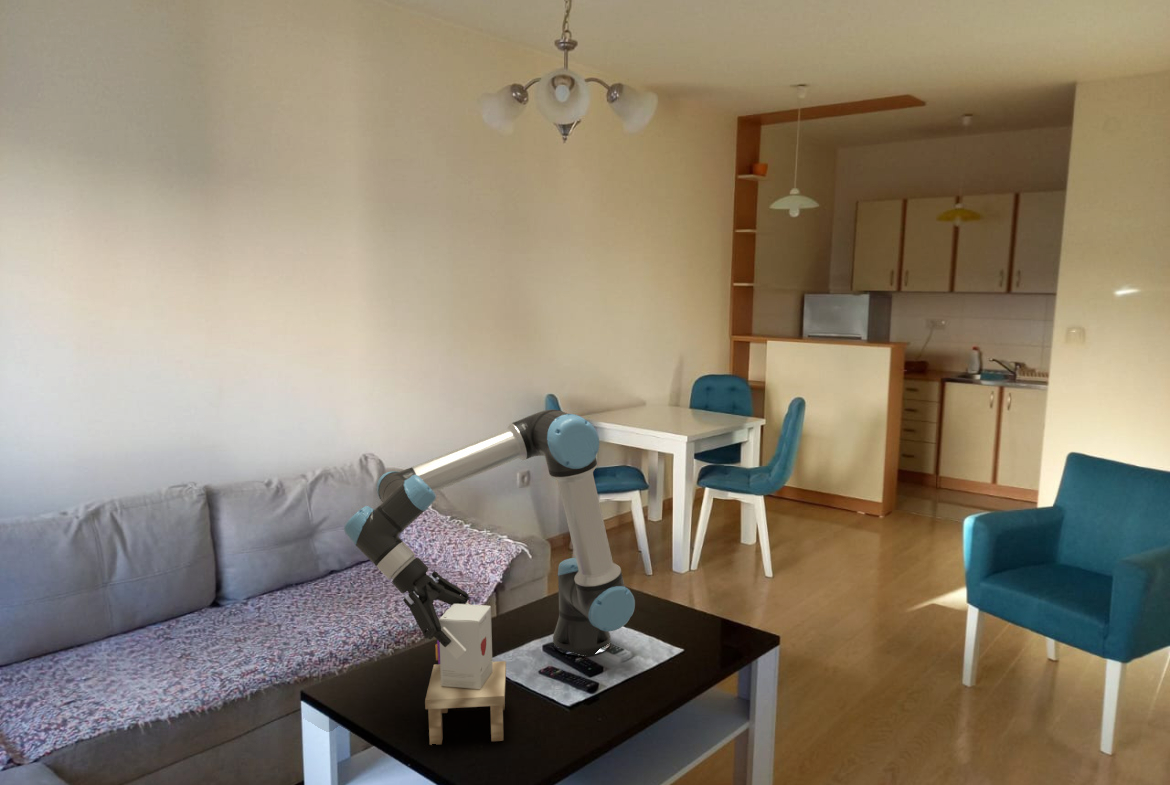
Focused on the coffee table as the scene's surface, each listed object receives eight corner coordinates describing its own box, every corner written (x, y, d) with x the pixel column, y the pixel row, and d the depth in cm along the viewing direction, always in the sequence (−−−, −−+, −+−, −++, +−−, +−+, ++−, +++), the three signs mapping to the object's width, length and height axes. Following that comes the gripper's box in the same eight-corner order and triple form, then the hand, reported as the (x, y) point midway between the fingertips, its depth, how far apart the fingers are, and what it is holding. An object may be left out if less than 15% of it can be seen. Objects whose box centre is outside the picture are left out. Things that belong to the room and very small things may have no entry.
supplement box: (480, 690, 167) (478, 621, 165) (440, 687, 169) (437, 618, 167) (494, 670, 176) (492, 604, 174) (455, 667, 178) (452, 602, 176)
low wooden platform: (507, 703, 182) (505, 661, 181) (505, 741, 166) (504, 695, 165) (435, 707, 181) (433, 664, 179) (427, 746, 165) (425, 700, 164)
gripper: (416, 561, 185) (480, 628, 184) (365, 601, 161) (439, 678, 159) (437, 539, 183) (502, 607, 182) (389, 577, 159) (463, 655, 158)
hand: (472, 640), depth 171 cm, fingers open, 13 cm apart
